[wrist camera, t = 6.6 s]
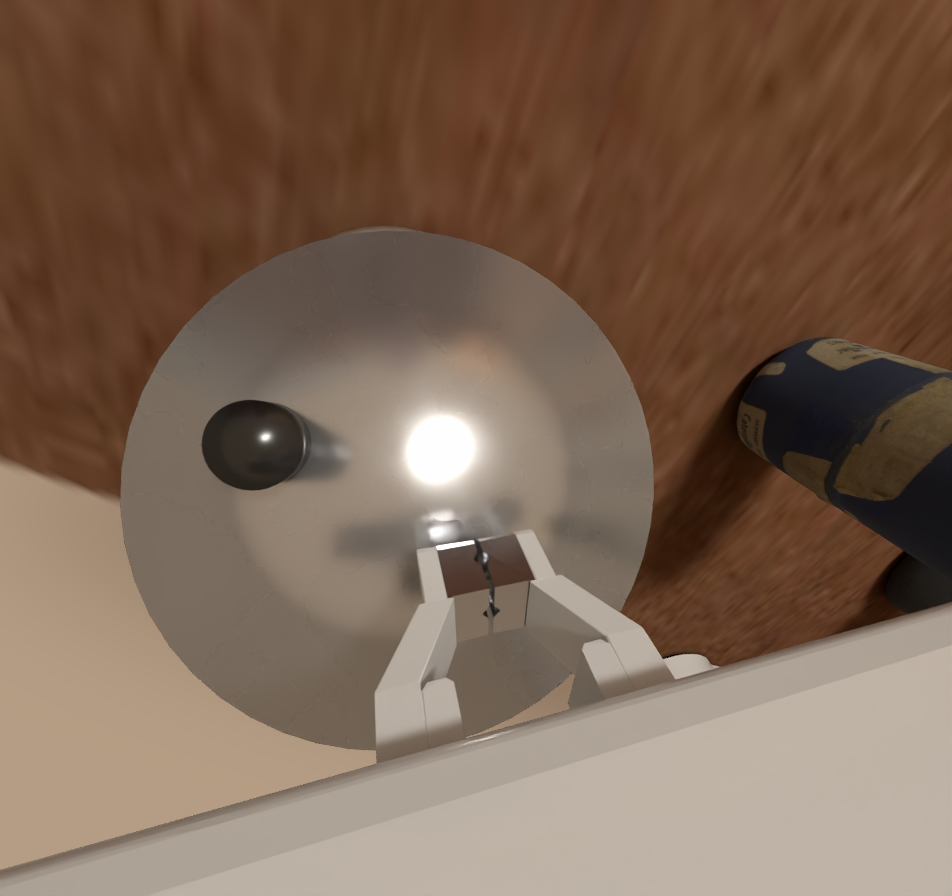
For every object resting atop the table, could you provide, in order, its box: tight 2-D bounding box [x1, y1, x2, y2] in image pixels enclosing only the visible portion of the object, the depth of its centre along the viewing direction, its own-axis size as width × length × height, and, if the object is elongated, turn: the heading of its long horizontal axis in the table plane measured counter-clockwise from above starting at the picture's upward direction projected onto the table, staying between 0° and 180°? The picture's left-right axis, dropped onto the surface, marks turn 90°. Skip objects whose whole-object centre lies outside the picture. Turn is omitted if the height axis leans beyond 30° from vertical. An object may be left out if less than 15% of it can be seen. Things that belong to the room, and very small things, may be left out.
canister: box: [737, 337, 952, 582], centre depth 24 cm, size 10×10×18 cm
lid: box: [120, 230, 654, 750], centre depth 11 cm, size 14×14×2 cm
